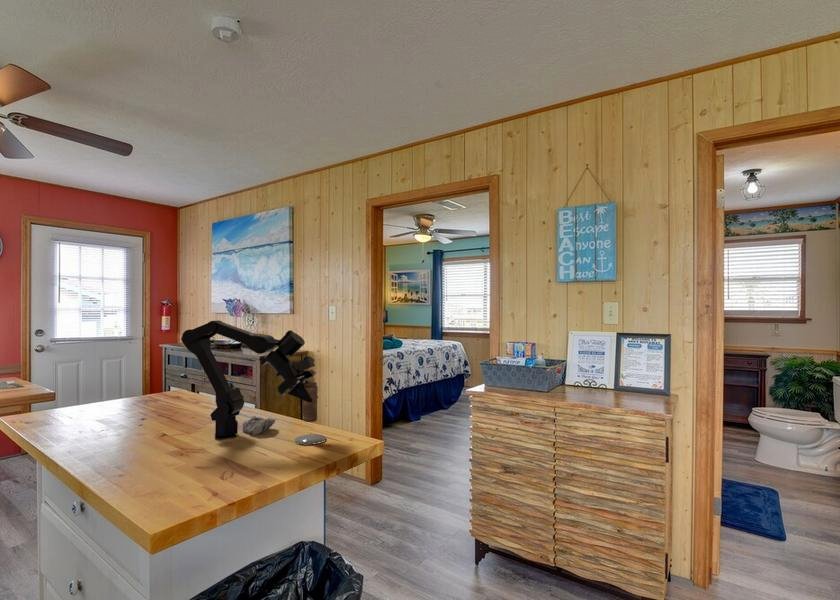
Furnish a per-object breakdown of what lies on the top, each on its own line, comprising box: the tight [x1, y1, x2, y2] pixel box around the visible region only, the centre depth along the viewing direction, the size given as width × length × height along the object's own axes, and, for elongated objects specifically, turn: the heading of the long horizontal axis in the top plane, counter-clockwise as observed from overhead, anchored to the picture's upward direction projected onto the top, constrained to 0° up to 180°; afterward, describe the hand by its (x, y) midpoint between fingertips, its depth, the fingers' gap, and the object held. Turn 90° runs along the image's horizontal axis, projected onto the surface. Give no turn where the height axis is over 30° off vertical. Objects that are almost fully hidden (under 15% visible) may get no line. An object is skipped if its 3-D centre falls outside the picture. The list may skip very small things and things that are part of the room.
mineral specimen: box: [241, 415, 276, 436], centre depth 157 cm, size 6×11×12 cm
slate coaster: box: [293, 433, 327, 444], centre depth 146 cm, size 10×10×1 cm
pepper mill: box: [302, 376, 319, 423], centre depth 146 cm, size 4×4×14 cm
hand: (314, 400), depth 146 cm, fingers closed on pepper mill, 4 cm apart
